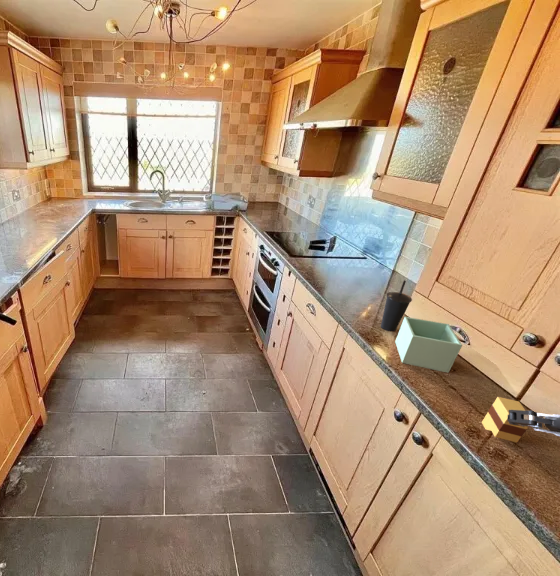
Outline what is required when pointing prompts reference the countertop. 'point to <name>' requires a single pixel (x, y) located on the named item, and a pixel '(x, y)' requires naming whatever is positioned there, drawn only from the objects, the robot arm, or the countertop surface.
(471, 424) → the countertop surface
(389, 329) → the drinking cup
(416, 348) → the storage box
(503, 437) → the yellow brown striped block
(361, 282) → the countertop surface
